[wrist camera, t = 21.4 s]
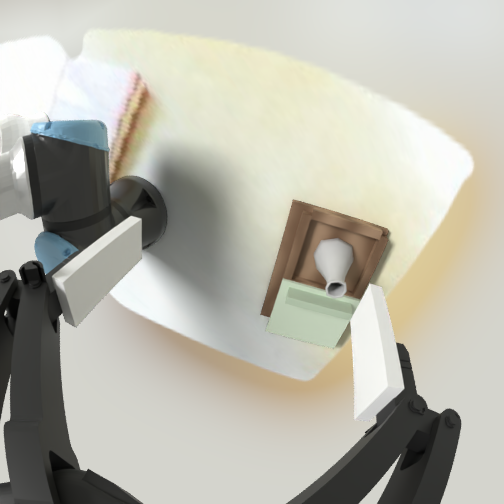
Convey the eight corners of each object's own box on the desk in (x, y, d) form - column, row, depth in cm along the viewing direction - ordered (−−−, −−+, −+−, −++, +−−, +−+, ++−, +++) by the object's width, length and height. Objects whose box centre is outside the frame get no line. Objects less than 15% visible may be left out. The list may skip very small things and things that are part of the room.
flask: (349, 276, 48) (353, 312, 40) (310, 270, 49) (307, 305, 41) (358, 240, 45) (366, 272, 36) (316, 234, 46) (315, 264, 37)
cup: (56, 110, 45) (5, 122, 32) (50, 152, 50) (2, 170, 37) (34, 103, 44) (-13, 114, 32) (29, 142, 50) (-15, 158, 37)
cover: (266, 329, 56) (262, 341, 53) (282, 278, 50) (280, 290, 47) (333, 346, 55) (333, 359, 52) (360, 299, 48) (362, 312, 45)
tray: (261, 311, 58) (258, 319, 56) (293, 199, 45) (291, 204, 43) (337, 331, 56) (337, 339, 54) (387, 228, 43) (390, 234, 41)
